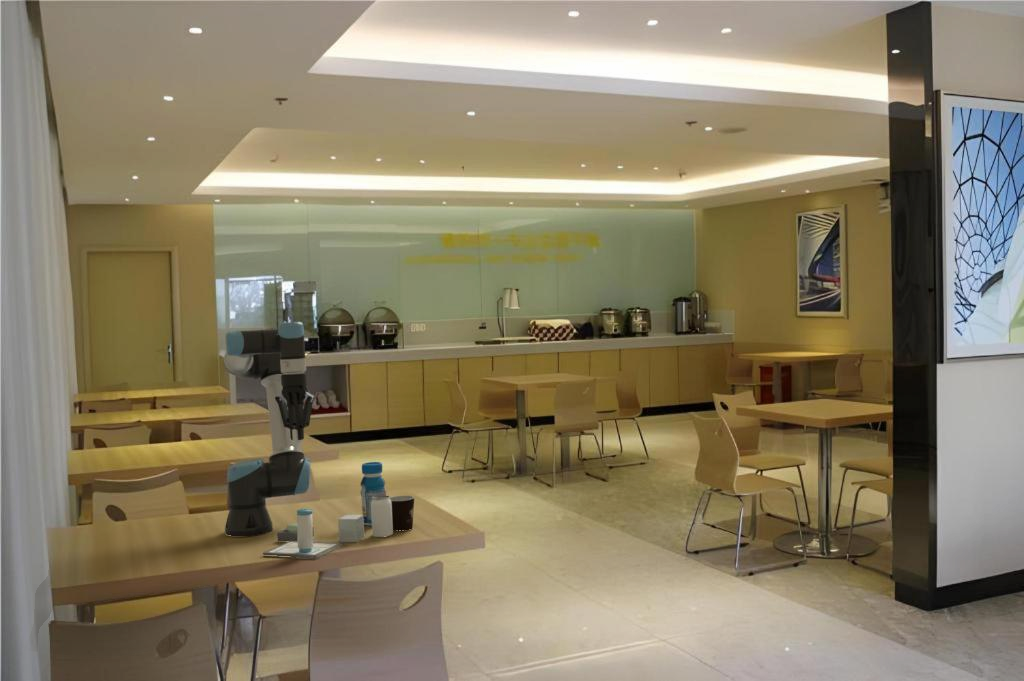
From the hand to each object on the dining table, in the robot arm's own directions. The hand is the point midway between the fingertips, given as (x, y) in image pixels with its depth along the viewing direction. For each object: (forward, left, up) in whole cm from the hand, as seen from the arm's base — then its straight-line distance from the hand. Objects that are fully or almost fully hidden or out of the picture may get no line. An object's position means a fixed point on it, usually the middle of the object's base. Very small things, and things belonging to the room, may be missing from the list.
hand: (298, 450), depth 279 cm
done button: (-8, +8, -28) cm, 30 cm away
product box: (+11, +10, -30) cm, 33 cm away
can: (+18, +17, -30) cm, 39 cm away
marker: (+6, -8, -28) cm, 30 cm away
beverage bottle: (+7, +32, -30) cm, 44 cm away
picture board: (+3, -5, -29) cm, 30 cm away
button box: (-8, +8, -29) cm, 32 cm away
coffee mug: (+21, +27, -30) cm, 45 cm away
